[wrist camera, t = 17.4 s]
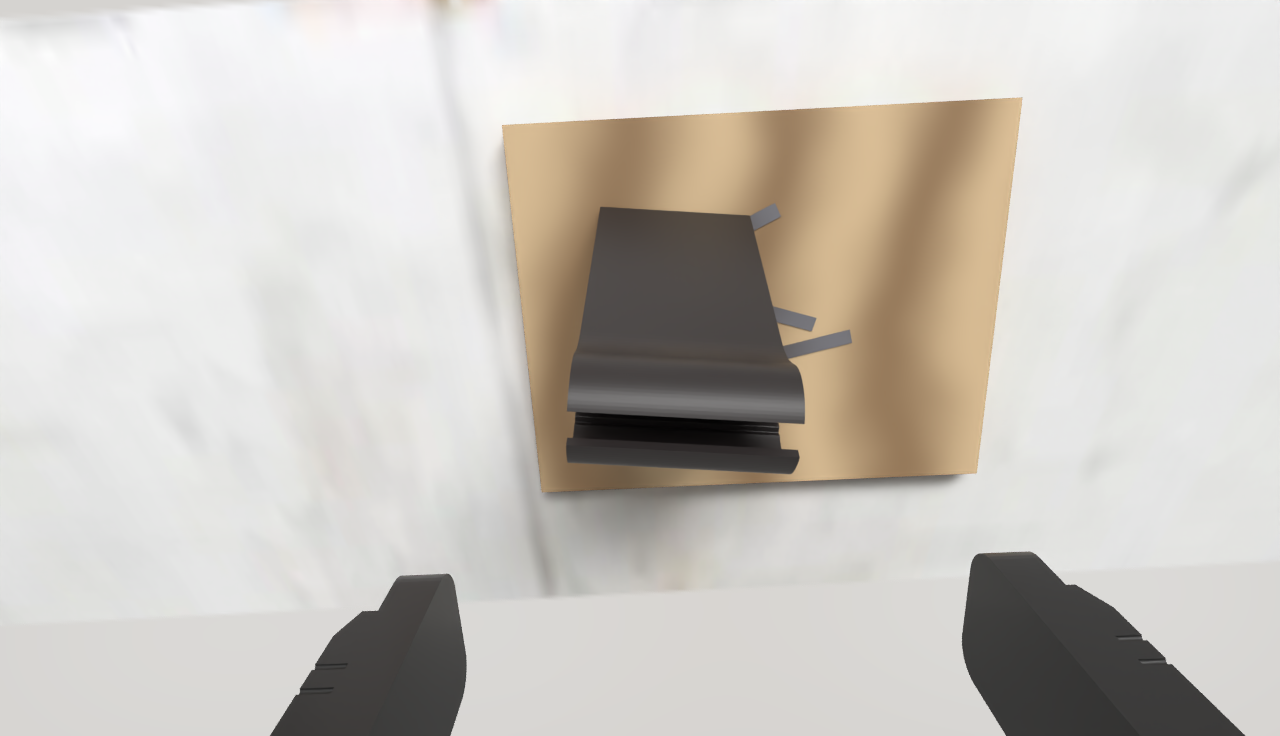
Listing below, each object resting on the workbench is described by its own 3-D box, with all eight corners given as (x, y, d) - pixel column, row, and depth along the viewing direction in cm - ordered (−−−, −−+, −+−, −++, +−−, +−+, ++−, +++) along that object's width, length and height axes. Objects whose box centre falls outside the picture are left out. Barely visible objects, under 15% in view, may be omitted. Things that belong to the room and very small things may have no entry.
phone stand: (726, 420, 30) (780, 592, 18) (591, 412, 29) (560, 579, 18) (750, 214, 27) (831, 263, 15) (601, 204, 27) (570, 246, 15)
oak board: (1006, 99, 26) (1023, 97, 25) (964, 461, 31) (977, 473, 30) (508, 126, 27) (501, 125, 26) (545, 480, 32) (541, 492, 31)
